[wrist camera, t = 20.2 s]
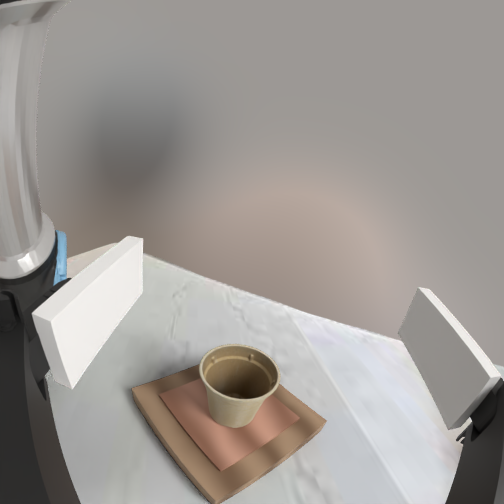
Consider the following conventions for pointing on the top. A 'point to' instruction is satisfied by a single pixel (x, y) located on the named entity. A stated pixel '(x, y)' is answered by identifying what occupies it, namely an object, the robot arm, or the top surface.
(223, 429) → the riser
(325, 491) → the top surface
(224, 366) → the flower pot
